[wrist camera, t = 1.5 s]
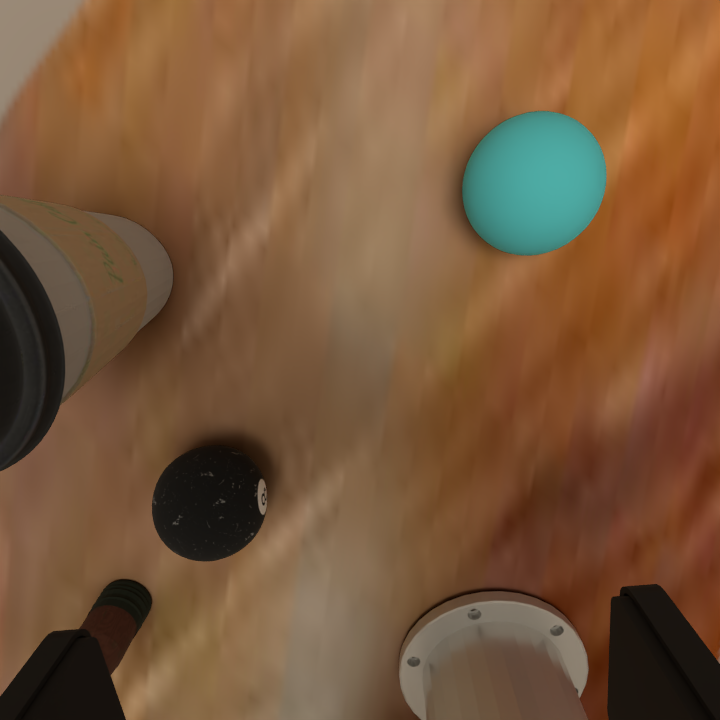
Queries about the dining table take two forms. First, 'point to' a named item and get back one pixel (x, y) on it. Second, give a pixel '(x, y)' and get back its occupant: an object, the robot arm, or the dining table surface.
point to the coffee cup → (66, 307)
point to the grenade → (117, 618)
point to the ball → (534, 183)
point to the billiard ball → (209, 503)
